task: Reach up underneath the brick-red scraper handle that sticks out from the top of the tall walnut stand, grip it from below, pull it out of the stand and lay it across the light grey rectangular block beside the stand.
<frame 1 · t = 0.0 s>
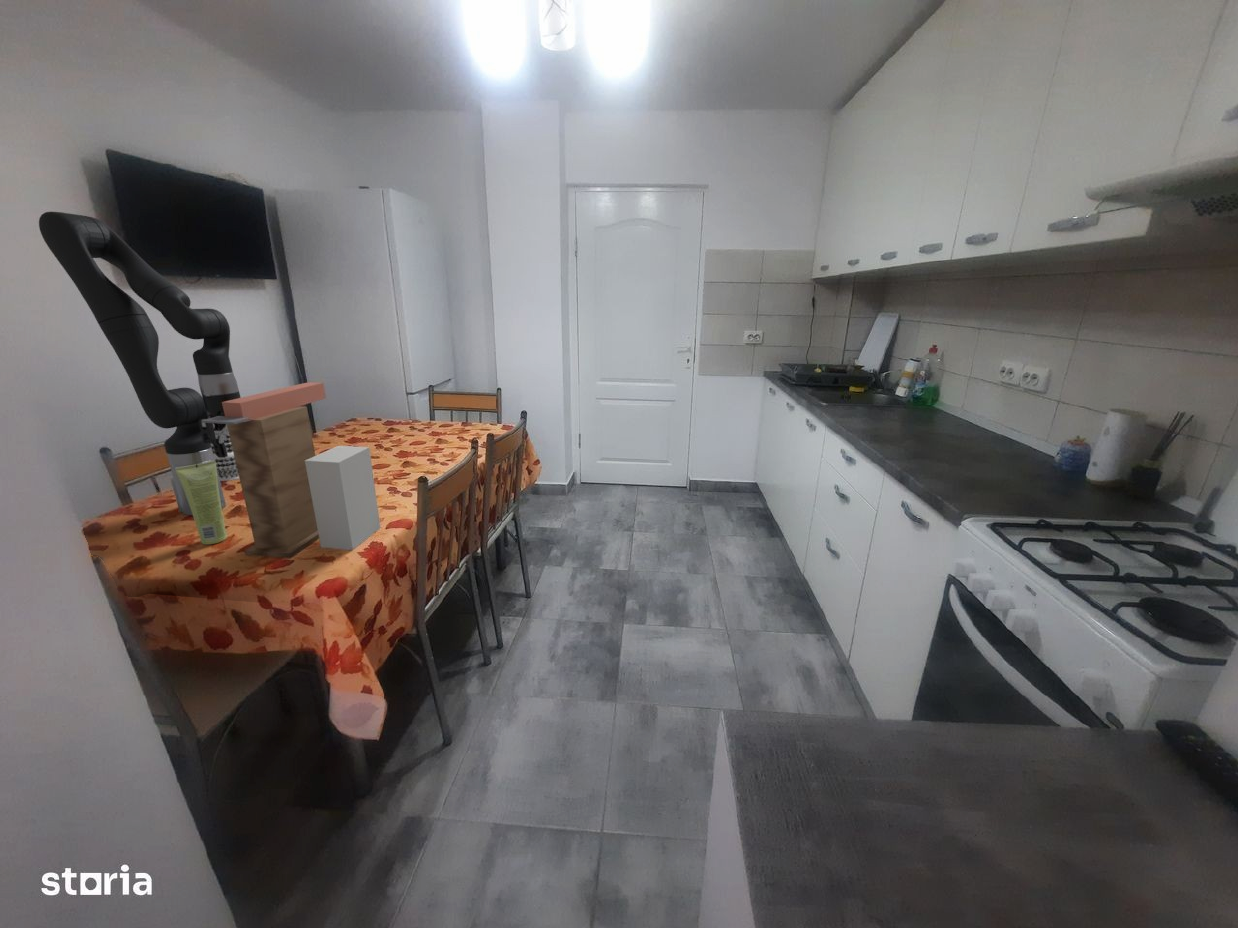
hand: (236, 452, 129), 17 cm above the table, tool pointing down, fingers open, 8 cm apart
light grey rectangular block: (352, 537, 122), on the table
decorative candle: (230, 477, 159), on the table
scraper: (281, 408, 114), point 32 cm above the table, touching stand
tube: (215, 540, 119), on the table
stand: (294, 539, 120), on the table
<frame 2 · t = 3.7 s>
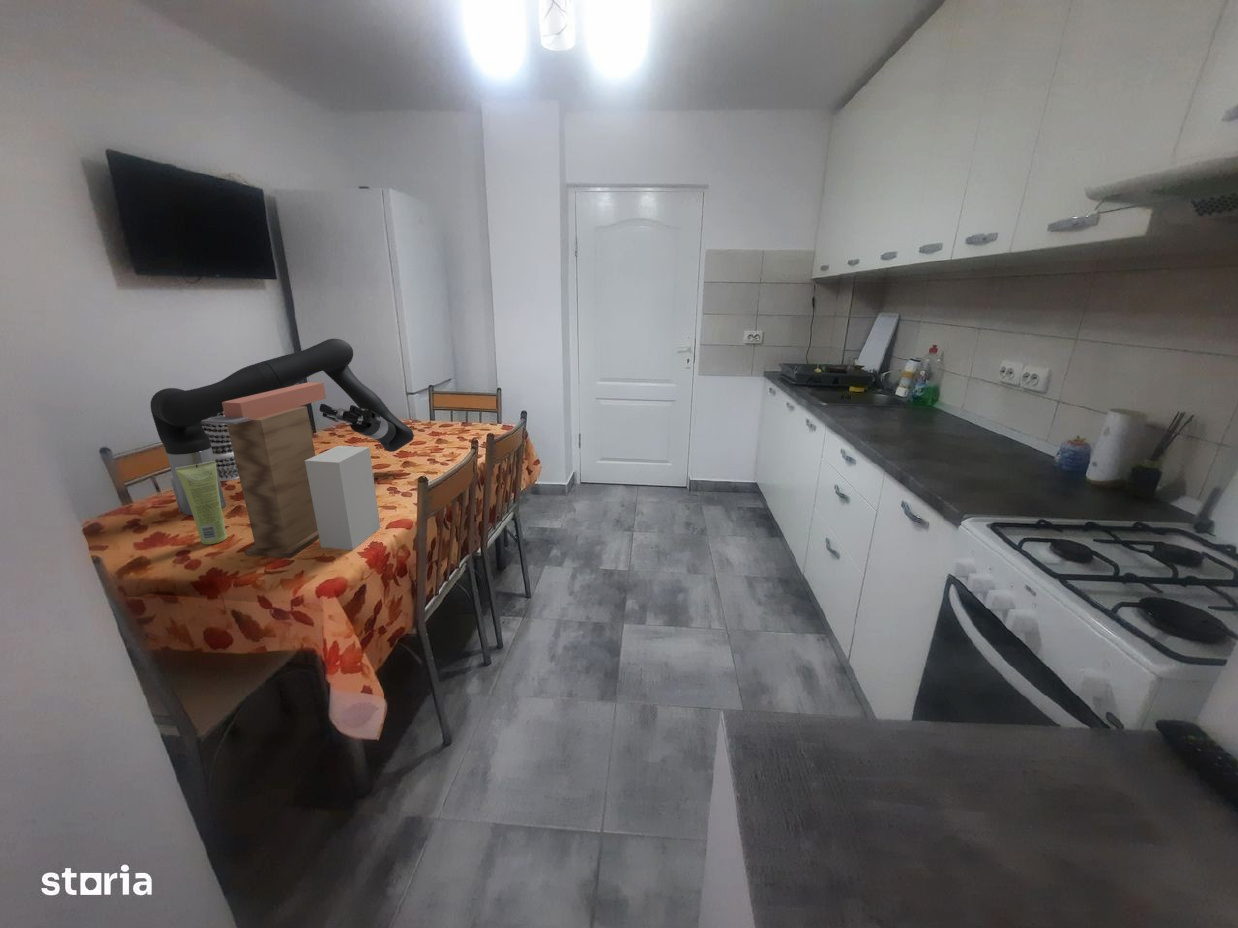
hand: (336, 407, 133), 28 cm above the table, tool pointing upward, fingers open, 8 cm apart
nothing on the table moved.
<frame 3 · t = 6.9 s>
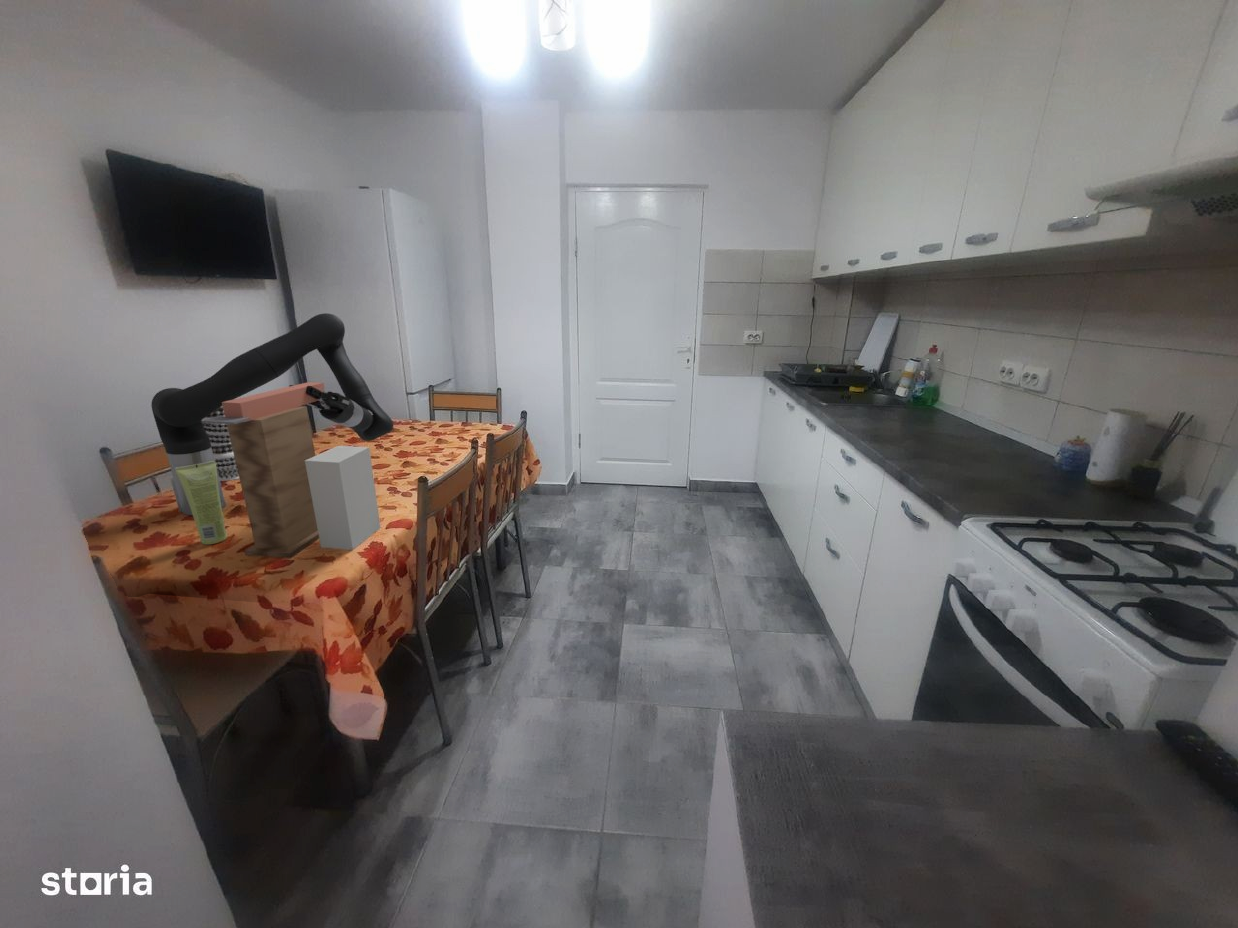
hand: (299, 389, 119), 35 cm above the table, tool pointing upward, fingers closed on scraper, 4 cm apart
scraper: (281, 408, 114), point 32 cm above the table, touching gripper, stand
everything else where it was.
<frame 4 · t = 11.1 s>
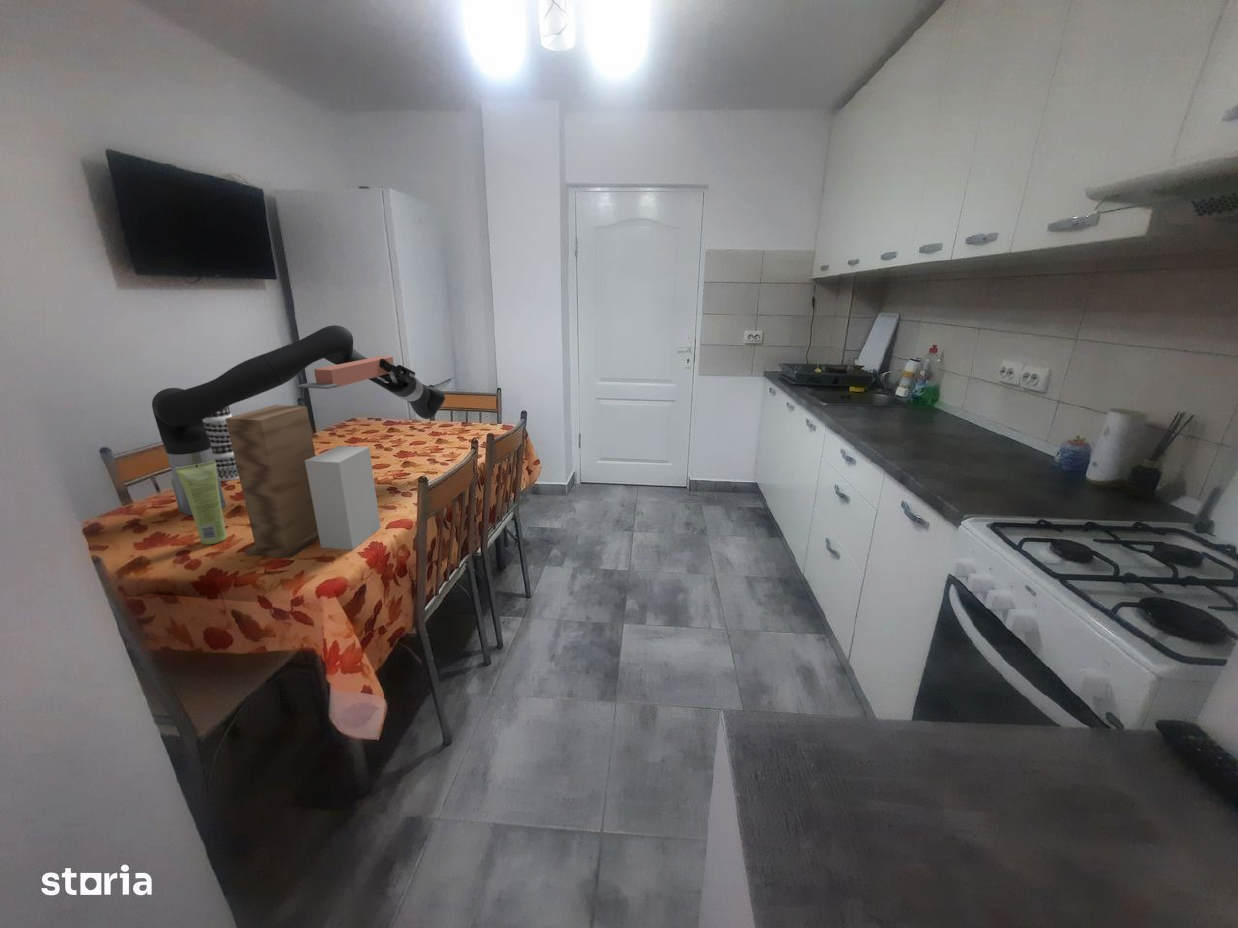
hand: (372, 361, 127), 41 cm above the table, tool pointing upward, fingers closed on scraper, 4 cm apart
scraper: (359, 378, 121), point 38 cm above the table, touching gripper
everything else where it was.
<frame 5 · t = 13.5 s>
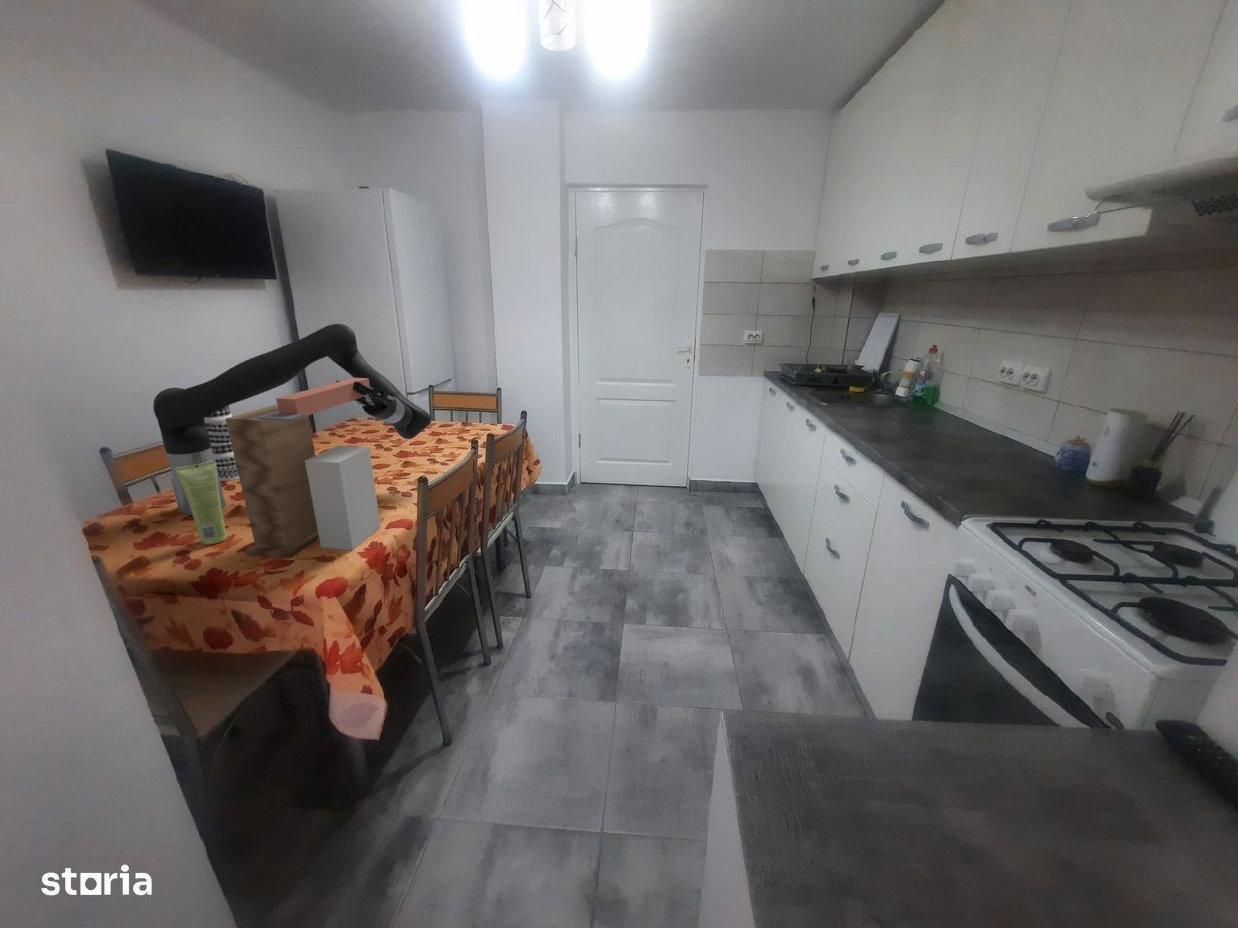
hand: (346, 385, 116), 37 cm above the table, tool pointing upward, fingers closed on scraper, 4 cm apart
scraper: (330, 404, 111), point 34 cm above the table, touching gripper
everything else where it was.
when the fingers open (27 cm above the table, at t = 15.5 s): scraper drops 2 cm, resting on light grey rectangular block.
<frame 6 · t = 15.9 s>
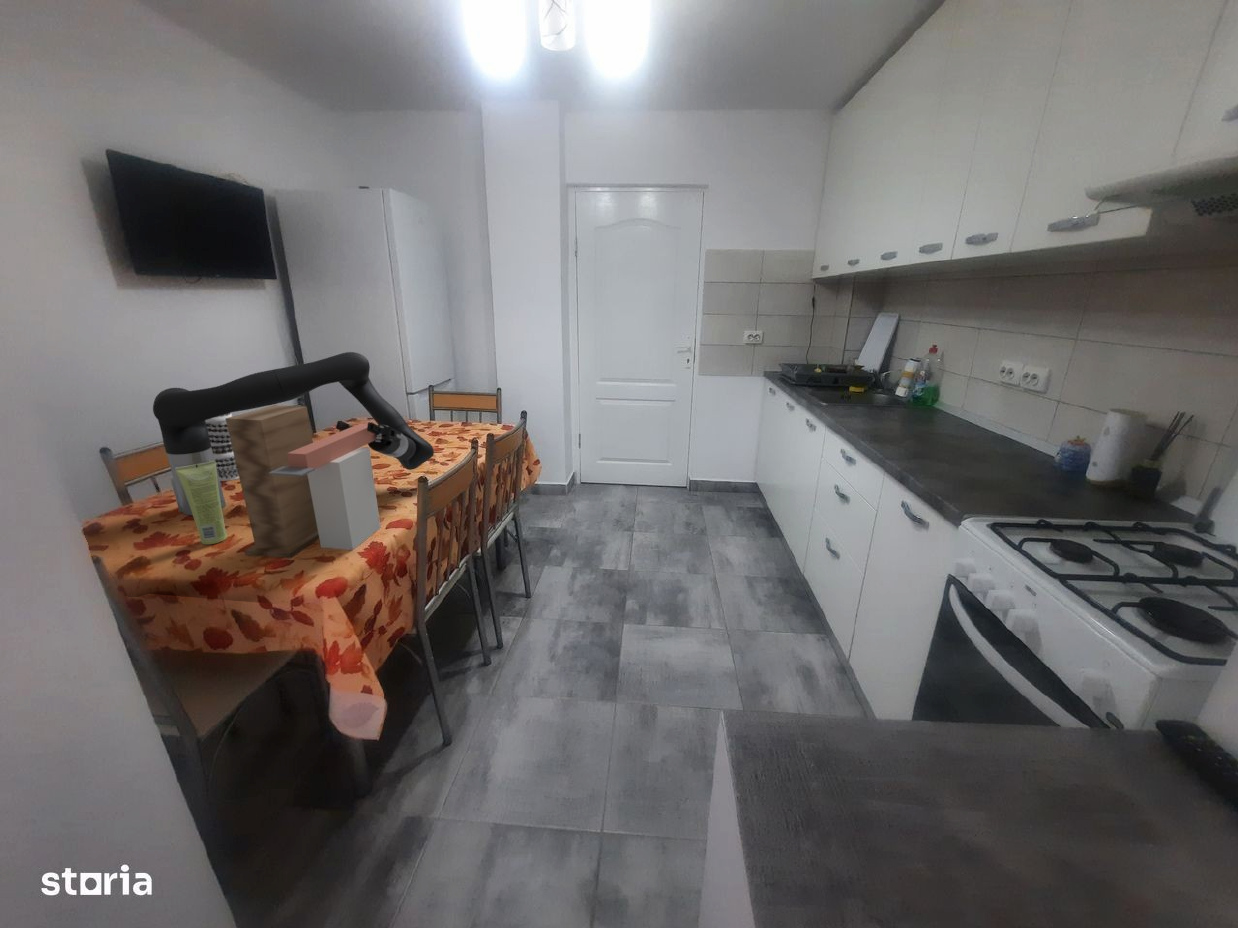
hand: (353, 425, 120), 27 cm above the table, tool pointing upward, fingers open, 7 cm apart
scraper: (338, 453, 115), point 22 cm above the table, touching light grey rectangular block
everything else where it was.
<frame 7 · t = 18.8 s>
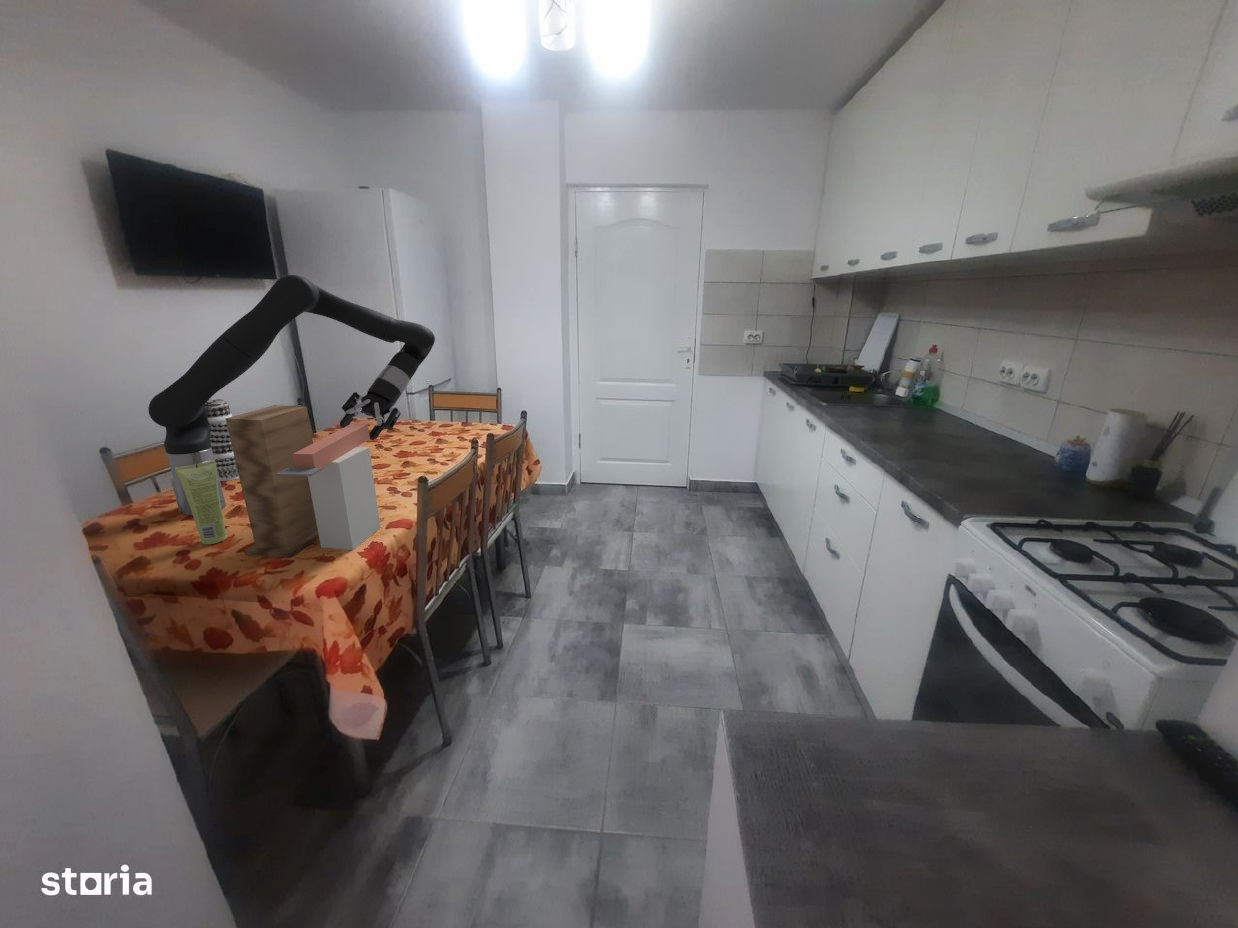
hand: (356, 433, 130), 23 cm above the table, tool tilted 45°, fingers open, 8 cm apart
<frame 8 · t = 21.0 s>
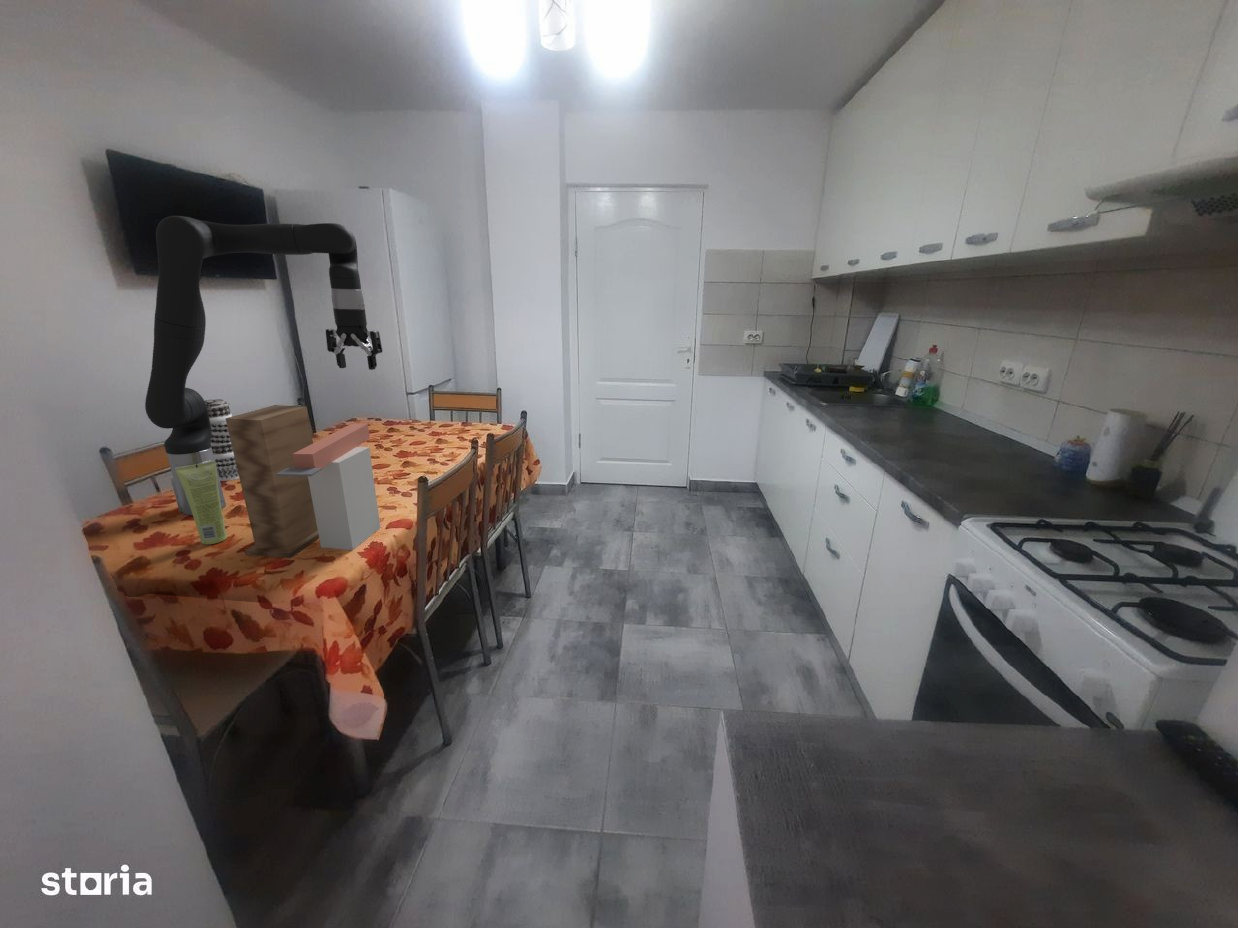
hand: (357, 368, 135), 38 cm above the table, tool pointing down, fingers open, 8 cm apart
nothing on the table moved.
at the end: scraper inside the target area on the light grey rectangular block (0.4 cm from its centre), point 22.0 cm above the light grey rectangular block's base; scraper touching light grey rectangular block; the gripper is holding nothing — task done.
